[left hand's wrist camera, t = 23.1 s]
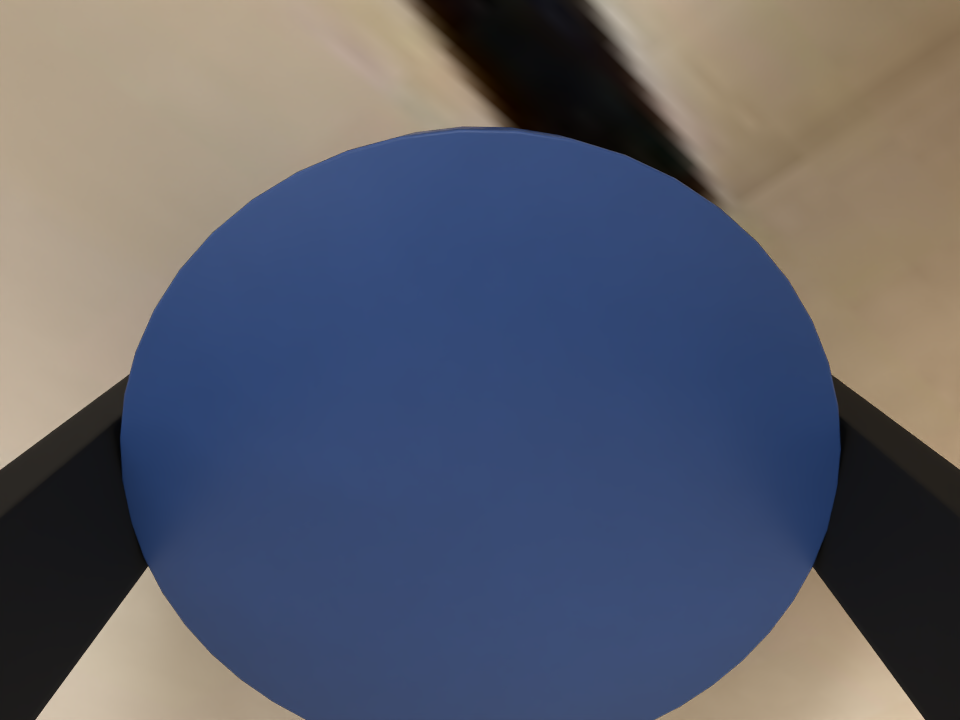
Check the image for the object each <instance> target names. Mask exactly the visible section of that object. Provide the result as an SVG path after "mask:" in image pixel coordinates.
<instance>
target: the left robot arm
mask: <svg viewBox="0 0 960 720" xmlns="http://www.w3.org/2000/svg"><path fill="white" fill-rule="evenodd" d="M129 375H130V374H129ZM129 375H128V376H127V377H125V378H124V379H122V380H121V381H120V382H118V383H117V384H116V385H114V386H113V387H112V388H110V389H109V390H108V391H106V392H105V393H104V394H102V395H101V396H100V397H98V398H97V399H96V400H94V401H93V402H91V403H90V404H89V405H87V406H86V407H85V408H83V409H82V410H81V411H79V412H78V413H77V414H75V415H74V416H73V417H71V418H70V419H69V420H67V421H66V422H64V423H63V424H62V425H60V426H59V427H58V428H56V429H55V430H54V431H52V432H51V433H50V434H48V435H47V436H46V437H44V438H43V439H42V440H40V441H39V442H37V443H36V444H35V445H33V446H32V447H31V448H29V449H28V450H27V451H25V452H24V453H23V454H21V455H20V456H19V457H17V458H16V459H15V460H13V461H12V462H11V463H9V464H8V465H6V466H5V467H4V468H2V469H1V470H0V720H35V719H36V718H37V717H38V715H39V714H40V713H41V711H42V710H43V709H44V707H45V706H46V704H47V703H48V702H49V700H50V699H51V698H52V696H53V695H54V694H55V692H56V691H57V689H58V688H59V687H60V685H61V684H62V683H63V681H64V680H65V679H66V677H67V676H68V675H69V673H70V672H71V670H72V669H73V668H74V666H75V665H76V664H77V662H78V661H79V660H80V658H81V657H82V655H83V654H84V653H85V651H86V650H87V649H88V647H89V646H90V645H91V643H92V642H93V640H94V639H95V638H96V636H97V635H98V634H99V632H100V631H101V630H102V628H103V627H104V626H105V624H106V623H107V621H108V620H109V619H110V617H111V616H112V615H113V613H114V612H115V611H116V609H117V608H118V606H119V605H120V604H121V602H122V601H123V600H124V598H125V597H126V596H127V594H128V593H129V591H130V590H131V589H132V587H133V586H134V585H135V583H136V582H137V581H138V579H139V578H140V577H141V575H142V574H143V572H144V571H145V570H146V568H147V567H148V564H147V562H146V560H145V558H144V556H143V553H142V551H141V548H140V545H139V542H138V539H137V537H136V534H135V531H134V528H133V525H132V522H131V518H130V513H129V509H128V504H127V499H126V495H125V490H124V486H123V481H122V467H121V448H120V433H121V423H122V413H123V403H124V394H125V390H126V387H127V383H128V379H129ZM831 376H832V380H833V385H834V389H835V394H836V398H837V403H838V410H839V427H840V443H841V453H840V464H839V475H838V485H837V490H836V495H835V499H834V503H833V508H832V512H831V516H830V521H829V525H828V529H827V532H826V534H825V537H824V539H823V542H822V545H821V547H820V550H819V552H818V555H817V557H816V560H815V562H814V565H813V568H814V569H815V570H816V572H817V573H818V575H819V576H820V577H821V579H822V580H823V581H824V583H825V584H826V585H827V587H828V588H829V590H830V591H831V592H832V594H833V595H834V596H835V598H836V599H837V600H838V602H839V603H840V604H841V606H842V607H843V609H844V610H845V611H846V613H847V614H848V615H849V617H850V618H851V619H852V621H853V622H854V624H855V625H856V626H857V628H858V629H859V630H860V632H861V633H862V634H863V636H864V637H865V638H866V640H867V641H868V643H869V644H870V645H871V647H872V648H873V649H874V651H875V652H876V653H877V655H878V656H879V658H880V659H881V660H882V662H883V663H884V664H885V666H886V667H887V668H888V670H889V671H890V673H891V674H892V675H893V677H894V678H895V679H896V681H897V682H898V683H899V685H900V686H901V687H902V689H903V690H904V692H905V693H906V694H907V696H908V697H909V698H910V700H911V701H912V702H913V704H914V705H915V707H916V708H917V709H918V711H919V712H920V713H921V715H922V716H923V717H924V719H925V720H960V470H959V469H958V468H957V467H955V466H954V465H953V464H951V463H950V462H949V461H947V460H946V459H945V458H943V457H942V456H941V455H939V454H938V453H937V452H935V451H934V450H932V449H931V448H930V447H928V446H927V445H926V444H924V443H923V442H922V441H920V440H919V439H918V438H916V437H915V436H914V435H912V434H911V433H910V432H908V431H907V430H905V429H904V428H903V427H901V426H900V425H899V424H897V423H896V422H895V421H893V420H892V419H891V418H889V417H888V416H887V415H885V414H884V413H883V412H881V411H880V410H878V409H877V408H876V407H874V406H873V405H872V404H870V403H869V402H868V401H866V400H865V399H864V398H862V397H861V396H860V395H858V394H857V393H856V392H854V391H853V390H851V389H850V388H849V387H847V386H846V385H845V384H843V383H842V382H841V381H839V380H838V379H837V378H835V377H834V376H833V375H831Z"/></svg>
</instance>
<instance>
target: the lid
mask: <svg viewBox="0 0 960 720" xmlns="http://www.w3.org/2000/svg"><path fill="white" fill-rule="evenodd" d="M120 448H121V467H122V481H123V486H124V490H125V495H126V499H127V504H128V509H129V513H130V518H131V522H132V525H133V528H134V531H135V534H136V537H137V539H138V542H139V545H140V548H141V551H142V553H143V556H144V558H145V560H146V562H147V564H148V566H149V568H150V570H151V572H152V574H153V576H154V577H155V579H156V581H157V583H158V585H159V587H160V589H161V591H162V593H163V594H164V596H165V597H166V598H167V600H168V601H169V603H170V604H171V606H172V607H173V608H174V610H175V611H176V613H177V614H178V616H179V617H180V618H181V620H182V621H183V623H184V624H185V625H186V626H187V627H188V629H189V630H190V631H191V632H192V633H193V634H194V635H195V636H196V637H197V639H198V640H199V641H200V642H201V643H202V644H203V645H204V646H205V647H206V649H207V650H208V651H209V652H210V653H211V654H212V655H213V656H214V657H216V658H217V659H218V660H219V661H220V662H221V663H222V664H224V665H225V666H226V667H227V668H228V669H229V670H230V671H232V672H233V673H234V674H235V675H236V676H237V677H238V678H240V679H241V680H242V681H244V682H245V683H247V684H248V685H249V686H251V687H252V688H254V689H255V690H257V691H258V692H259V693H261V694H262V695H264V696H265V697H267V698H268V699H270V700H271V701H272V702H274V703H276V704H278V705H280V706H282V707H283V708H285V709H287V710H289V711H291V712H293V713H294V714H296V715H298V716H300V717H302V718H304V719H305V720H655V719H657V718H659V717H661V716H663V715H665V714H667V713H669V712H670V711H672V710H674V709H676V708H678V707H680V706H682V705H683V704H685V703H686V702H688V701H689V700H691V699H692V698H694V697H695V696H697V695H699V694H700V693H702V692H703V691H705V690H706V689H708V688H709V687H711V686H712V685H714V684H715V683H716V682H717V681H718V680H720V679H721V678H722V677H723V676H724V675H726V674H727V673H728V672H729V671H731V670H732V669H733V668H734V667H735V666H737V665H738V664H739V663H740V662H741V661H743V660H744V659H745V657H746V656H747V655H748V654H749V653H750V652H751V651H752V650H753V649H754V648H755V647H756V646H757V645H758V644H759V643H760V642H761V641H762V640H763V639H764V638H765V637H766V636H767V635H768V634H769V633H770V631H771V630H772V629H773V627H774V626H775V625H776V623H777V622H778V621H779V619H780V618H781V617H782V615H783V614H784V613H785V611H786V610H787V609H788V607H789V606H790V605H791V603H792V602H793V600H794V599H795V597H796V595H797V593H798V592H799V590H800V588H801V586H802V585H803V583H804V581H805V579H806V577H807V576H808V574H809V572H810V570H811V569H812V567H813V565H814V562H815V560H816V557H817V555H818V552H819V550H820V547H821V545H822V542H823V539H824V537H825V534H826V532H827V529H828V525H829V521H830V516H831V512H832V508H833V503H834V499H835V495H836V490H837V485H838V475H839V464H840V453H841V443H840V427H839V410H838V403H837V398H836V394H835V389H834V385H833V380H832V376H831V371H830V366H829V362H828V360H827V357H826V355H825V352H824V349H823V347H822V344H821V342H820V339H819V337H818V334H817V332H816V329H815V327H814V324H813V321H812V319H811V318H810V316H809V314H808V313H807V311H806V309H805V307H804V306H803V304H802V302H801V301H800V299H799V297H798V296H797V294H796V292H795V290H794V289H793V287H792V285H791V284H790V282H789V280H788V279H787V278H786V276H785V275H784V274H783V273H782V271H781V270H780V269H779V268H778V267H777V265H776V264H775V263H774V262H773V260H772V259H771V258H770V257H769V256H768V254H767V253H766V252H765V251H764V249H763V248H762V247H761V246H760V245H759V243H758V242H757V241H756V240H755V239H754V238H752V237H751V236H750V235H749V234H748V233H747V232H746V231H745V230H744V229H742V228H741V227H740V226H739V225H738V224H737V223H736V222H735V221H734V220H732V219H731V218H730V217H729V216H728V215H727V214H726V213H725V212H724V211H722V210H721V209H720V208H719V207H718V206H716V205H715V204H713V203H712V202H710V201H709V200H707V199H706V198H704V197H703V196H701V195H699V194H698V193H696V192H695V191H693V190H692V189H690V188H689V187H687V186H686V185H684V184H683V183H681V182H680V181H678V180H677V179H675V178H673V177H671V176H669V175H667V174H665V173H663V172H660V171H658V170H656V169H654V168H652V167H650V166H648V165H646V164H643V163H641V162H639V161H637V160H635V159H633V158H631V157H629V156H626V155H624V154H620V153H617V152H614V151H610V150H607V149H604V148H601V147H597V146H594V145H591V144H588V143H584V142H581V141H578V140H574V139H571V138H567V137H563V136H560V135H555V134H548V133H542V132H536V131H529V130H523V129H517V128H510V127H455V128H447V129H439V130H431V131H423V132H415V133H411V134H407V135H403V136H400V137H396V138H392V139H389V140H385V141H381V142H377V143H374V144H370V145H366V146H362V147H359V148H355V149H351V150H348V151H345V152H343V153H341V154H338V155H336V156H334V157H331V158H329V159H327V160H324V161H322V162H320V163H317V164H315V165H313V166H310V167H308V168H306V169H303V170H301V171H299V172H297V173H295V174H293V175H292V176H290V177H288V178H287V179H285V180H283V181H282V182H280V183H279V184H277V185H275V186H274V187H272V188H270V189H269V190H267V191H265V192H264V193H262V194H261V195H259V196H257V197H256V198H254V199H252V200H251V201H250V202H249V203H247V204H246V205H245V206H244V207H243V208H241V209H240V210H239V211H238V212H237V213H235V214H234V215H233V216H232V217H231V218H229V219H228V220H227V221H226V222H225V223H223V224H222V225H221V226H220V227H219V228H217V229H216V230H215V231H214V232H213V233H212V234H211V235H210V236H209V237H208V238H207V239H206V241H205V242H204V243H203V244H202V245H201V246H200V247H199V248H198V250H197V251H196V252H195V253H194V254H193V255H192V256H191V258H190V259H189V260H188V261H187V262H186V263H185V264H184V265H183V267H182V268H181V269H180V270H179V272H178V273H177V275H176V276H175V278H174V279H173V281H172V283H171V284H170V286H169V287H168V289H167V290H166V292H165V293H164V295H163V297H162V298H161V300H160V301H159V303H158V304H157V306H156V308H155V309H154V311H153V313H152V316H151V318H150V320H149V322H148V325H147V327H146V329H145V332H144V334H143V336H142V338H141V341H140V343H139V345H138V347H137V350H136V352H135V356H134V360H133V364H132V368H131V371H130V375H129V379H128V383H127V387H126V390H125V394H124V403H123V413H122V423H121V433H120Z"/></svg>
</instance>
